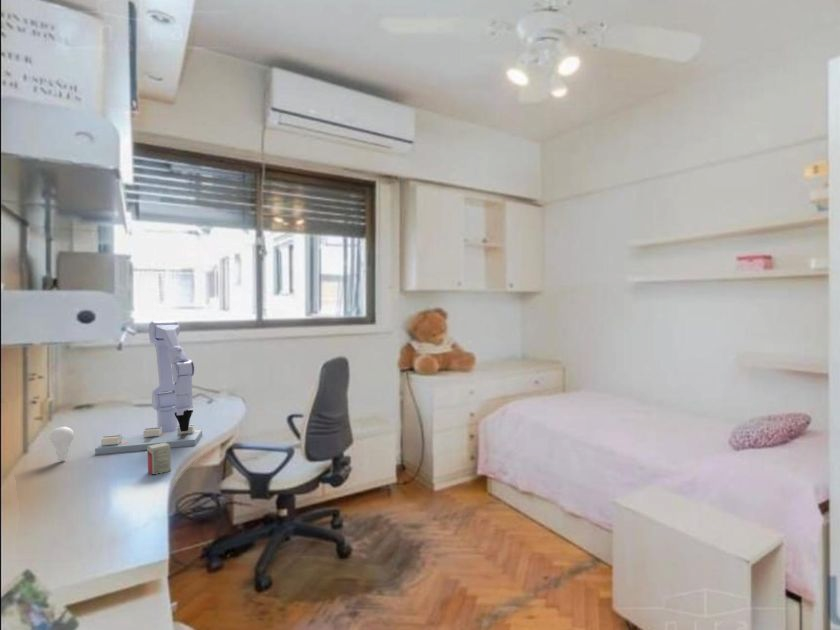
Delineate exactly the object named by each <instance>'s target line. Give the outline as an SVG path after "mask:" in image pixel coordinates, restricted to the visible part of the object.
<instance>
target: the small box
mask: <svg viewBox="0 0 840 630" xmlns="http://www.w3.org/2000/svg"><path fill="white" fill-rule="evenodd" d="M146 451H147V473H148V474H150V473H151V474H150V475H152V474H156V475H159V474H158V473H160V474H162V473H163V472H164V473H167V472H171V470H172V469H171V468H172V467H171V466H172V465H171V464H172V463H171V448H170V445H169V444H167V443H160V444H155V445H150V446H147V450H146Z"/></svg>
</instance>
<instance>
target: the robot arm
mask: <svg viewBox="0 0 840 630" xmlns="http://www.w3.org/2000/svg"><path fill="white" fill-rule="evenodd" d="M180 330H181V327H180V323H179V321H178V320H160V321H159V320H158V321H154V320H152V321H150V323H149V325H148V334H149V335H148V336H149V340H150V341H149V342H150V343H151V344H153V345H154V346H155V347H154V348H155V351H156V352H155V353H156V364H157V371H158V373H157V374H158V386H156V388H154V389H153V390H152V392H151V405H152V408H153V409H154V411H156V414H157V415H156V416H157V417H156V418H157V420H156V423H157V424H156V427H162V433H168V432H177V428H178V426H180V430H181V432H182V431H188V427H189V425H190V422H191V417H192V416H193V415H192V414H193V413H194V410H193V408H194V404H193V377H194V374H195V365H194V361H192V360H191V359H190V358H188V356H187V353H186V351H185V347H182V346H180V342H179V339H178V337H179V334H180Z"/></svg>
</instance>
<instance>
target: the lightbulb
mask: <svg viewBox="0 0 840 630" xmlns="http://www.w3.org/2000/svg"><path fill="white" fill-rule="evenodd" d="M74 437H75V434H74V430H73V429H72V428H70V427H68V426H60V427H57V428H55V429H54V430H53V431H51V433H50V436H49V440H50V443H51V444H52V446H53V447H54V449H55V453H56V456H57V461H60V462H65V460H68V458H69V457H68V456H69V455H68V454H69V450H70V446H71V443H72V442H73V440H74Z"/></svg>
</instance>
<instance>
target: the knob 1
mask: <svg viewBox="0 0 840 630" xmlns="http://www.w3.org/2000/svg"><path fill="white" fill-rule="evenodd" d="M122 436H123V435H122V434H110V435H103V436H102V438H100V445H101V446H102V445H113V444H119V443H120V442H121V441H122Z"/></svg>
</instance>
